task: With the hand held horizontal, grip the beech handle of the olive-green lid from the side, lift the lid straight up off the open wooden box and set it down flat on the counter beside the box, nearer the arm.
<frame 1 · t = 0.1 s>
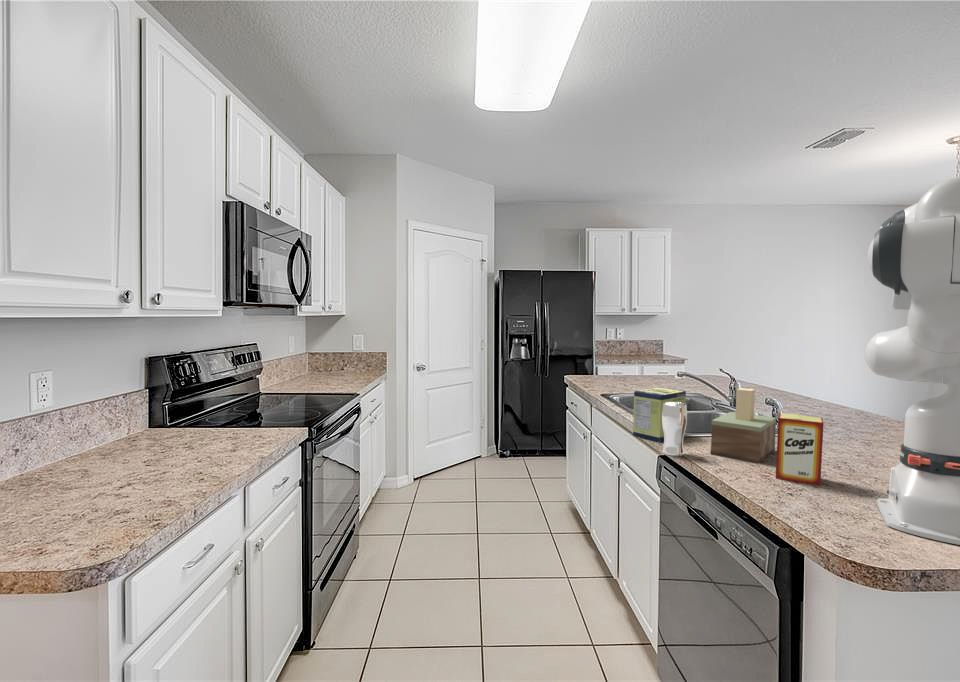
hand: (944, 328, 120), 39 cm above the worktop, tool pointing down, fingers open, 8 cm apart
lid: (744, 426, 152), point 8 cm above the worktop, touching open wooden box
protein box: (658, 436, 172), on the worktop
open wooden box: (743, 452, 152), on the worktop
beer glass: (673, 454, 150), on the worktop
baking soda box: (797, 479, 129), on the worktop
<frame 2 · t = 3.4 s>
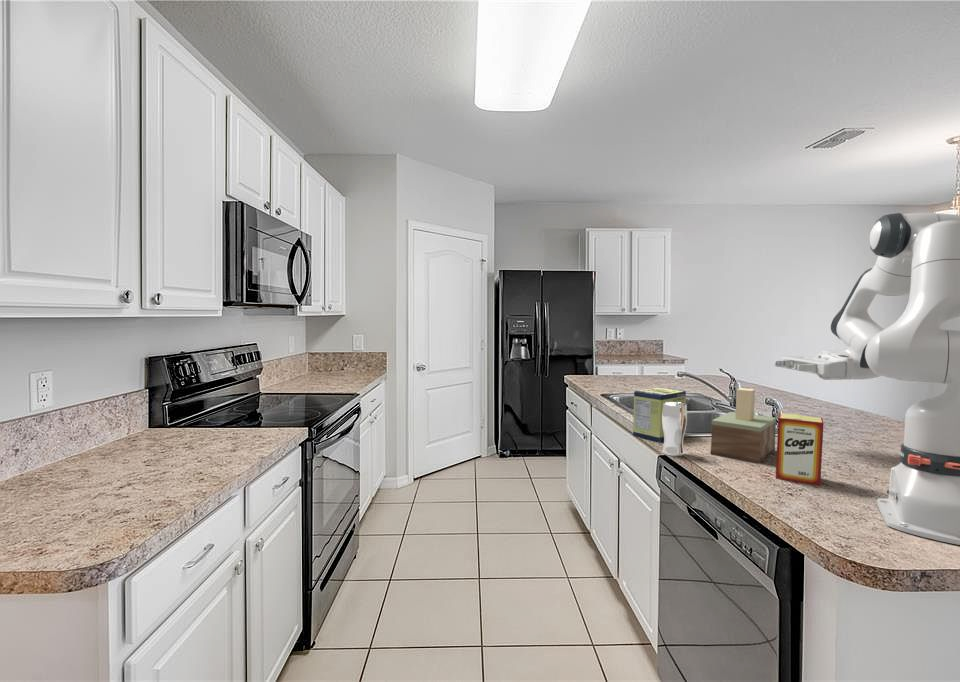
hand: (786, 365, 151), 26 cm above the worktop, tool horizontal, fingers open, 8 cm apart
nothing on the worktop moved.
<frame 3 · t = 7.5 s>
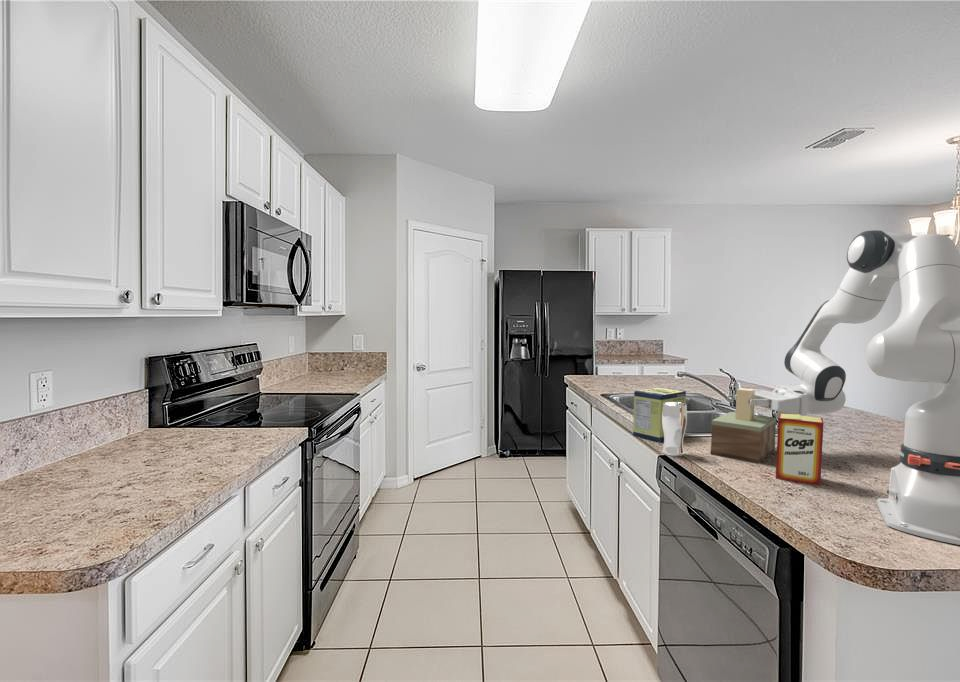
hand: (742, 399, 151), 16 cm above the worktop, tool horizontal, fingers closed on lid, 6 cm apart
lid: (744, 426, 152), point 8 cm above the worktop, touching gripper, open wooden box
everything else where it was.
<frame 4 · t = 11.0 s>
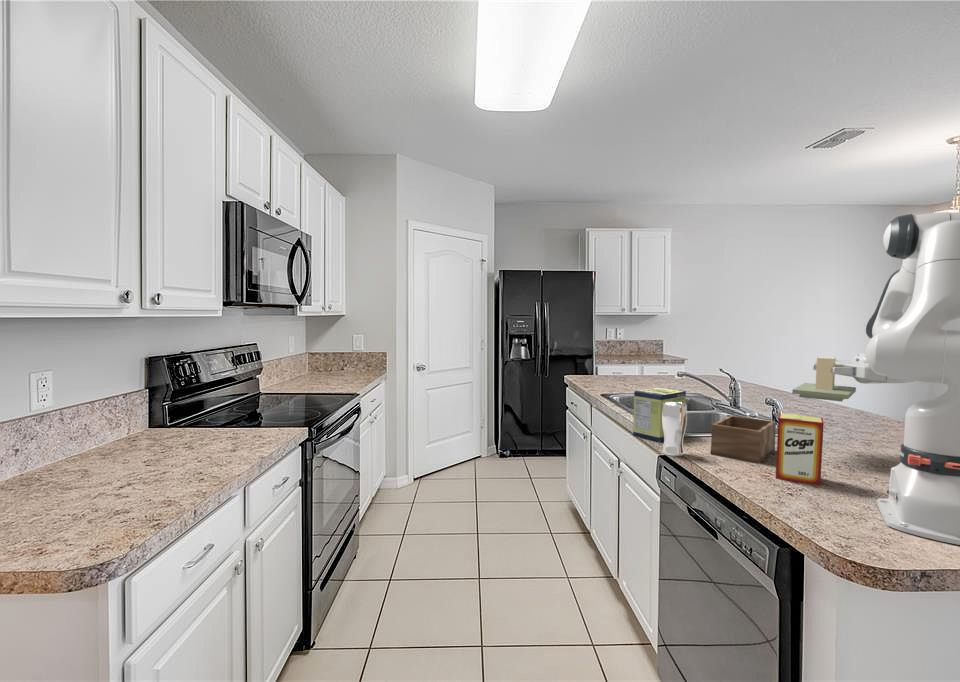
hand: (822, 368, 147), 26 cm above the worktop, tool horizontal, fingers closed on lid, 6 cm apart
lid: (824, 395, 147), point 18 cm above the worktop, touching gripper
everything else where it was.
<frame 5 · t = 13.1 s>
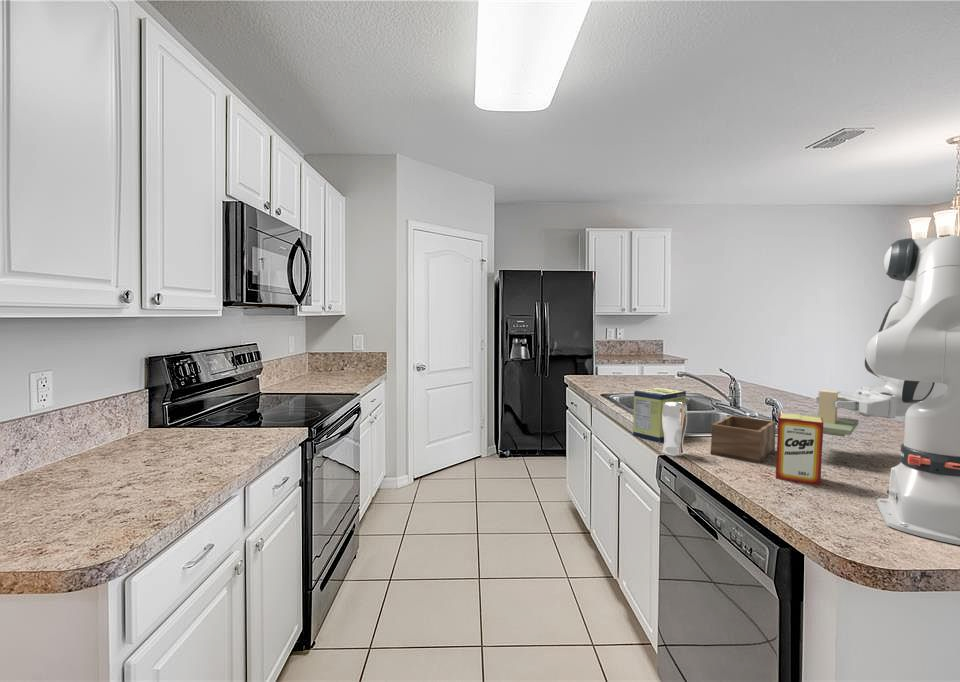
hand: (825, 402, 147), 16 cm above the worktop, tool horizontal, fingers closed on lid, 6 cm apart
lid: (826, 428, 148), point 8 cm above the worktop, touching gripper
everything else where it was.
when the fingers open (9 cm above the worktop, at t = 14.9 s): lid drops 2 cm, on the worktop.
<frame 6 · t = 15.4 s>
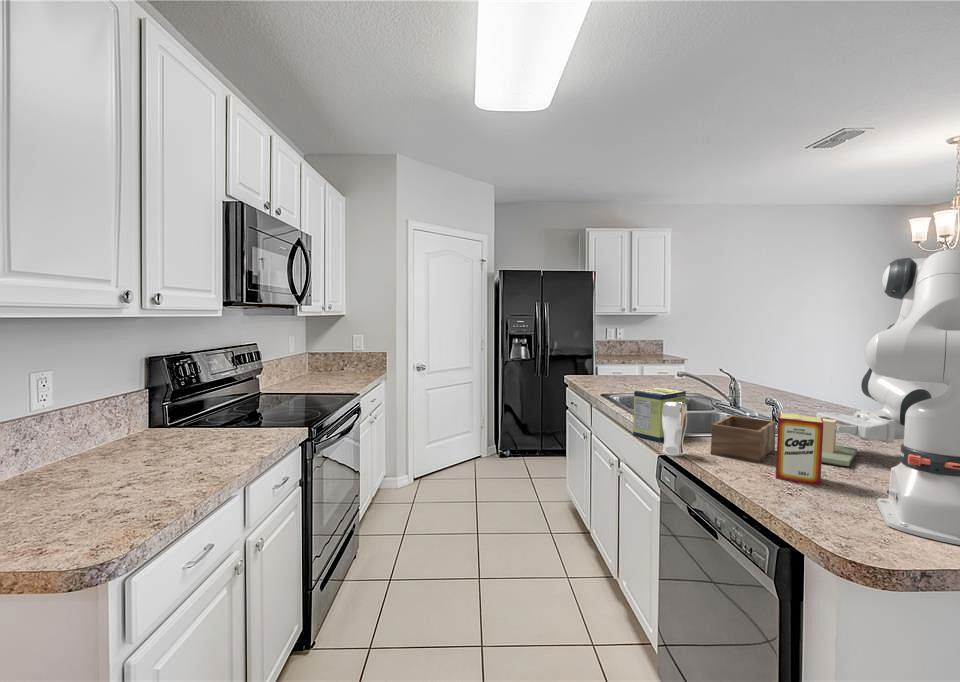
hand: (824, 425, 147), 9 cm above the worktop, tool horizontal, fingers open, 8 cm apart
lid: (825, 457, 148), on the worktop
everything else where it was.
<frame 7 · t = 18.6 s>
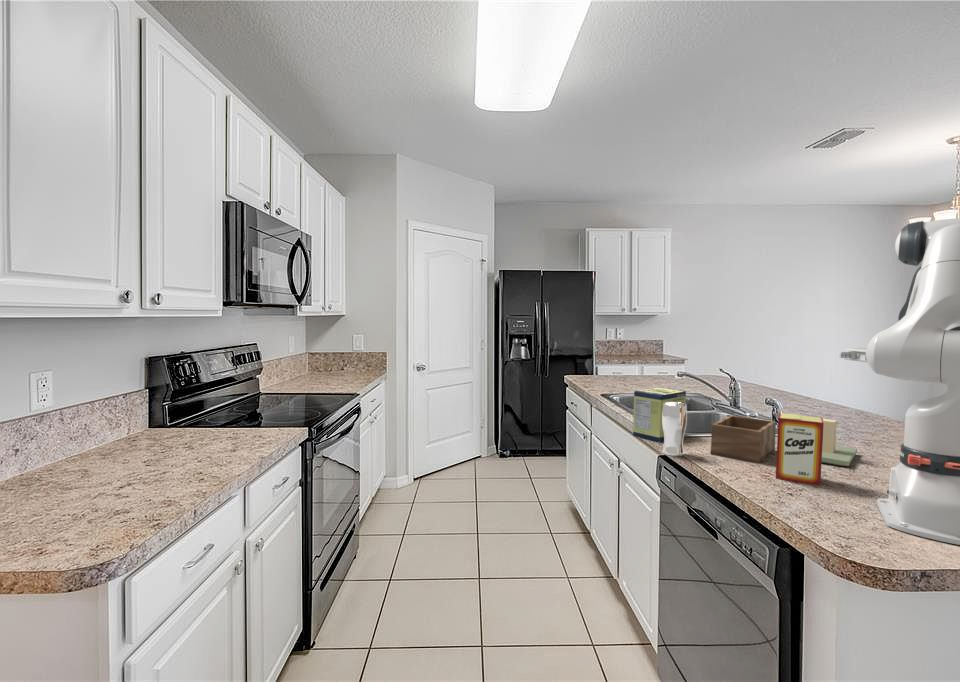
hand: (853, 356, 147), 30 cm above the worktop, tool horizontal, fingers open, 8 cm apart
nothing on the worktop moved.
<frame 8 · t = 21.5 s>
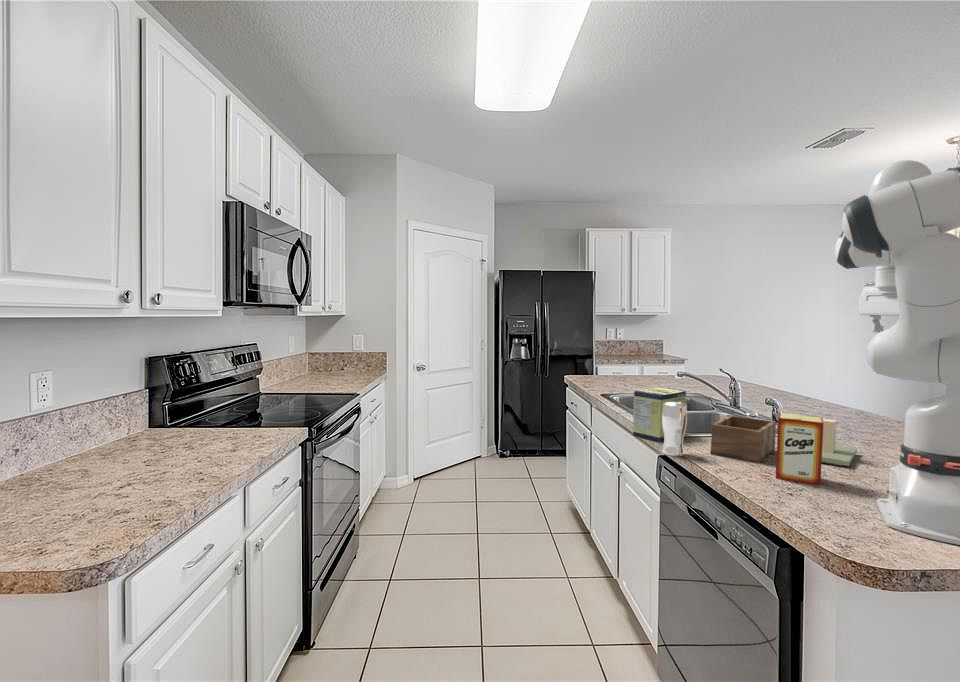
hand: (893, 333, 133), 37 cm above the worktop, tool pointing down, fingers open, 8 cm apart
nothing on the worktop moved.
at the end: lid inside the target area (0.1 cm from its centre), on the worktop; lid tilted 0°; lid touching worktop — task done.
